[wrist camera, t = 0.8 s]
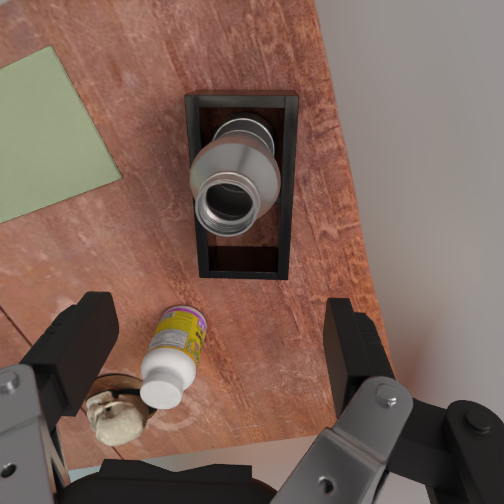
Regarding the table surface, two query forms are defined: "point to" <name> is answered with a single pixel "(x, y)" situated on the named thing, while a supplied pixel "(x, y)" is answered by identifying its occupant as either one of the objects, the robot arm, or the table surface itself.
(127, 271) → the table surface
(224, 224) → the silver water bottle
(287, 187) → the bottle rack
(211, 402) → the table surface
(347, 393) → the robot arm
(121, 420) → the skull
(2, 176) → the mat
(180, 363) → the supplement bottle
